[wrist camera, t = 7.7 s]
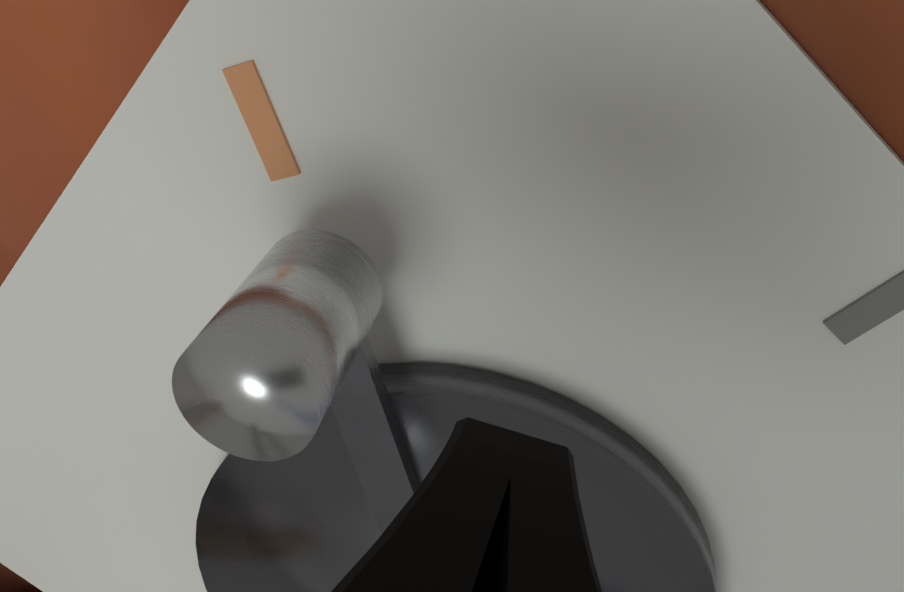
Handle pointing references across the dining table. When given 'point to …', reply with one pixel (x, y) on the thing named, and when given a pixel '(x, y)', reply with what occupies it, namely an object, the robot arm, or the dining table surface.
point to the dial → (382, 437)
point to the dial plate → (482, 264)
